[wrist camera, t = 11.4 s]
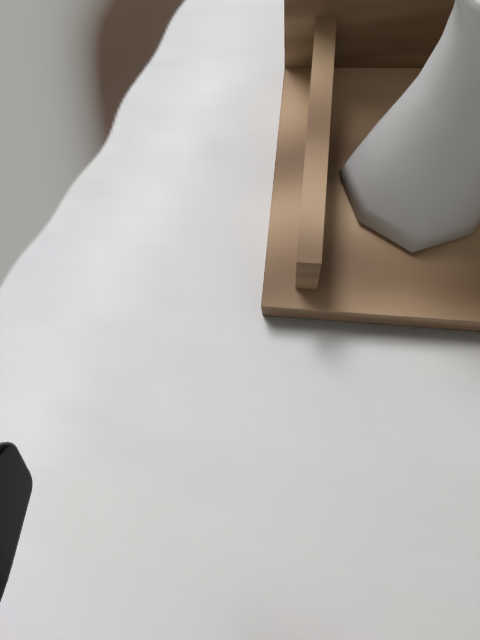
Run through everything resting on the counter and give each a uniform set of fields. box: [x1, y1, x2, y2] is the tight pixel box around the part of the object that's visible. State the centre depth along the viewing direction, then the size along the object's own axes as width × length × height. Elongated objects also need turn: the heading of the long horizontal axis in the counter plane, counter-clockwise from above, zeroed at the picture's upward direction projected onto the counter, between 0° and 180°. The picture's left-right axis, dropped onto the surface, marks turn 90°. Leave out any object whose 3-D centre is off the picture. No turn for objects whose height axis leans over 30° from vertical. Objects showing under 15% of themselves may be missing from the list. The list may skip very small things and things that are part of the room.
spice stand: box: [261, 0, 480, 331], centre depth 18 cm, size 15×14×12 cm
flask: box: [339, 0, 480, 253], centre depth 17 cm, size 7×7×10 cm
